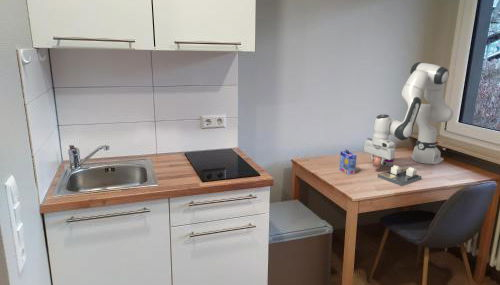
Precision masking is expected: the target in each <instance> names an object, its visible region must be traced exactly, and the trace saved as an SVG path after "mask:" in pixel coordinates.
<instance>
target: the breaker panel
mask: <svg viewBox="0 0 500 285" xmlns="http://www.w3.org/2000/svg"><path fill="white" fill-rule="evenodd" d="M406 171H407V170H406V169H401V173H398V174H397V175H395V174H392V173H391V169H390V170H388V171H387V170H386V171H384V172H380V173H377V178H379V179H381V180H385V181H387V182H390V183H393V184H395V185H398V186H405V185H408V184H411V183H414V182H418V181H421V180H422V175H419V174H416V175H414V176H408V175H406Z"/></svg>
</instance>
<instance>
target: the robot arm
mask: <svg viewBox="0 0 500 285" xmlns="http://www.w3.org/2000/svg"><path fill="white" fill-rule="evenodd" d="M409 73H410V75H409V77H408V78H407V80H406V82H405V83H404V85H403V88H402V89H401V97H402V100H404V102H405V103H406V104H407V110H406V114H405V116H404V118H403V121H400V120H397V119H395V118H392V117H391V116H390V115H389V114H379V115H377V116H376V117H375V120H374V124H373V134H372V138H370V137H367V138H366V139H365V143H364V146H363V151H364V152H365V153H367V154H370V157H371V162H374V156H379V157H382V161H380V164H383V163H384V161H385V159H388V160H392V159H393V158H394V159H395V153H396V148H395V149H394V146H395V145H396V143H395V142H394V141H392V140H391V139H390V138H389V136H392V137H395V138H397V139H399V140H401V141H406V140H408V139H409V138H410V137H411V136H412V134H413V132H414V127H415V123H416V124H417V127H418V136H417V140H416V145H415V146H414V148H413V153H412V155H411V156H410V158H411V159H412V161H414V162H417V163H421V164H426V165H427V164H428V165H438V164H440V163H441V162H443V161H444V158H443V157H441V151H440V149H439V148H438V147H437V145H439V143H440V142H439V141H437V136H438V131H437V129H436V128H435V127H434V126H432V125H431V124H429V122H434V123H435V122H437V123H449V121H451V120H452V119H453V117H454V111H453V109H452V108H451V107H450V106H449V105H448V104H447V103H446V101H445V99H444V98H445V97H444V92H445V85H446V84H445V83H446V82H447V81H448V79H449V77H450V76H449V75H450V72H449V69H448V68H446V67H444V66H440V65H439V64H434V63H427V62H422V61H421V62H420V61H418V62H415V63H413V65H412V66H411V68H410V72H409ZM423 92H424V94H423ZM422 94H423V97H424V99H425V101H427V102H428V103H430V104H428V103H422V100H421V99H422ZM393 142H394V143H393Z"/></svg>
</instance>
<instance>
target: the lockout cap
mask: <svg viewBox="0 0 500 285" xmlns="http://www.w3.org/2000/svg"><path fill="white" fill-rule="evenodd" d="M380 161H382V157H379V156H376V155H374V161H372V162H373V163H372V167H375V168H381V167H382V165H381V164H380Z"/></svg>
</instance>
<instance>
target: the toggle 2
mask: <svg viewBox="0 0 500 285" xmlns="http://www.w3.org/2000/svg"><path fill="white" fill-rule="evenodd" d="M405 171H406V175H408V176H414V175H417V173H418V172H417V171H418V169H416V168H414V167H411V166H410V167H408V168H407V169H406V170H405Z"/></svg>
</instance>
